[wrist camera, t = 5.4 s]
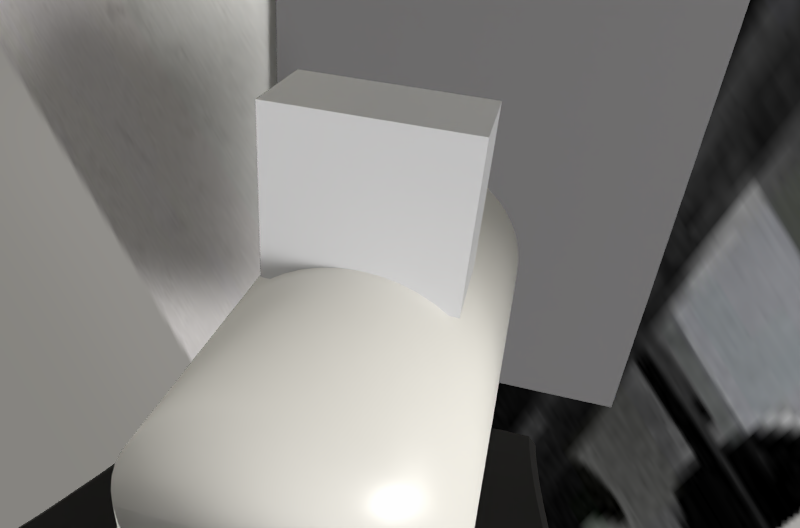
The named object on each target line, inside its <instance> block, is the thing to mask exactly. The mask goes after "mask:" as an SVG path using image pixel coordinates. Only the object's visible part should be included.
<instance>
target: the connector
mask: <svg viewBox="0 0 800 528" xmlns="http://www.w3.org/2000/svg"><path fill="white" fill-rule="evenodd" d="M255 103H256V137H257V171H258V204H259V238H260V271H261V275H260V276H259V278H258V279H257V280H256V281H255V283H254V284H253V285H252V286H251V288H250V289H249V290H248V291H247V293H246V294H245V295H244V296H243V298H242V299H241V300H240V301H239V303H238V304H237V305H236V307H235V308H234V309H233V310H232V312H231V313H230V314H229V315H228V317H227V318H226V319H225V320H224V322H223V323H222V324H221V325H220V327H219V328H218V329H217V330H216V332H215V333H214V334H213V335H212V337H211V338H210V339H209V341H208V342H207V343H206V344H205V346H204V347H203V348H202V349H201V351H200V352H199V353H198V354H197V356H196V357H195V358H194V359H193V361H192V362H191V363H190V364H189V366H188V367H187V368H186V369H185V371H184V372H183V373H182V375H181V376H180V377H179V378H178V380H177V381H176V382H175V383H174V385H173V386H172V387H171V389H170V390H169V391H168V392H167V393H166V395H165V396H164V397H163V399H162V400H161V401H160V402H159V404H158V405H157V406H156V407H155V409H154V410H153V411H152V412H151V414H150V415H149V416H148V417H147V419H146V420H145V421H144V422H143V424H142V425H141V426H140V427H139V429H138V430H137V431H136V432H135V434H134V435H133V436H132V437H131V439H130V440H129V441H128V443H127V444H126V445H125V447H124V448H123V449H122V451H121V452H120V454H119V456H118V458H117V460H116V462H115V465H114V469H113V473H112V479H111V496H112V504H113V509H114V514H115V519H116V523H117V528H475V522H476V516H477V510H478V504H479V498H480V492H481V486H482V480H483V474H484V468H485V462H486V456H487V450H488V444H489V438H490V432H491V426H492V420H493V414H494V408H495V402H496V396H497V390H498V384H499V378H500V372H501V366H502V360H503V354H504V348H505V342H506V336H507V330H508V324H509V318H510V312H511V306H512V300H513V294H514V288H515V282H516V276H517V269H518V262H519V261H518V245H517V239H516V235H515V232H514V229H513V226H512V223H511V221H510V219H509V217H508V215H507V213H506V211H505V210H504V208H503V207H502V205H501V204H500V202H499V201H498V199H497V198H496V197H495V196H494V195H493V194H492V193H491V192H490V190H489V189H488V188H487V187H488V181H489V175H490V169H491V163H492V157H493V151H494V145H495V139H496V133H497V127H498V121H499V115H500V110H501V104H502V101H499V100H492V99H486V98H479V97H473V96H466V95H460V94H454V93H447V92H441V91H434V90H428V89H422V88H415V87H409V86H402V85H396V84H389V83H383V82H377V81H370V80H364V79H357V78H351V77H344V76H338V75H332V74H325V73H319V72H312V71H306V70H299V69H297V70H296V71H294V72H293V73H292V74H290V75H289V76H287V77H286V78H285V79H283V80H282V81H280V82H279V83H277V84H276V85H275V86H273V87H272V88H270V89H269V90H268V91H266V92H265V93H263V94H262V95H260V96H259V97H258V98H256V99H255Z"/></svg>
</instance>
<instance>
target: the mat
mask: <svg viewBox="0 0 800 528" xmlns="http://www.w3.org/2000/svg"><path fill="white" fill-rule="evenodd" d="M749 1H750V0H276V43H277V83H279V82H280V81H282V80H283V79H285V78H286V77H287V76H289V75H290V74H292V73H293V72H294V71H296V70H297V69H299V70H306V71H312V72H319V73H325V74H332V75H338V76H344V77H351V78H357V79H364V80H370V81H377V82H383V83H389V84H396V85H402V86H409V87H415V88H422V89H428V90H434V91H441V92H447V93H454V94H460V95H466V96H473V97H479V98H486V99H492V100H499V101H502V104H501V110H500V115H499V121H498V127H497V133H496V139H495V145H494V151H493V157H492V163H491V169H490V175H489V181H488V187H487V188H488V189H489V190H490V192H491V193H492V194H493V195H494V196H495V197H496V198H497V199H498V201H499V202H500V204H501V205H502V207H503V208H504V210H505V211H506V213H507V215H508V217H509V219H510V221H511V223H512V226H513V229H514V232H515V235H516V239H517V245H518V261H519V262H518V269H517V276H516V282H515V288H514V294H513V300H512V306H511V312H510V318H509V324H508V330H507V336H506V342H505V348H504V354H503V360H502V366H501V372H500V378H499V383H504V384H508V385H513V386H517V387H522V388H526V389H531V390H535V391H540V392H544V393H549V394H553V395H558V396H562V397H567V398H571V399H576V400H581V401H585V402H590V403H594V404H599V405H603V406H608V407H611V406H612V403H613V400H614V398H615V395H616V392H617V389H618V386H619V383H620V380H621V377H622V374H623V371H624V368H625V365H626V362H627V359H628V356H629V353H630V351H631V348H632V345H633V342H634V339H635V336H636V333H637V330H638V327H639V324H640V321H641V318H642V315H643V312H644V309H645V307H646V304H647V301H648V298H649V295H650V292H651V289H652V286H653V283H654V280H655V277H656V274H657V271H658V268H659V265H660V262H661V260H662V257H663V254H664V251H665V248H666V245H667V242H668V239H669V236H670V233H671V230H672V227H673V224H674V221H675V218H676V216H677V213H678V210H679V207H680V204H681V201H682V198H683V195H684V192H685V189H686V186H687V183H688V180H689V177H690V174H691V171H692V169H693V166H694V163H695V160H696V157H697V154H698V151H699V148H700V145H701V142H702V139H703V136H704V133H705V130H706V127H707V125H708V122H709V119H710V116H711V113H712V110H713V107H714V104H715V101H716V98H717V95H718V92H719V89H720V86H721V83H722V80H723V78H724V75H725V72H726V69H727V66H728V63H729V60H730V57H731V54H732V51H733V48H734V45H735V42H736V39H737V36H738V34H739V31H740V28H741V25H742V22H743V19H744V16H745V13H746V10H747V7H748V4H749Z"/></svg>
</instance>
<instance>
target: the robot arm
mask: <svg viewBox="0 0 800 528" xmlns="http://www.w3.org/2000/svg"><path fill="white" fill-rule="evenodd" d="M114 465H115V464H113V465H112V466H111V467H109V468H108V469H106V470H105V471H103V472H102V473H101V474H100V475H98V476H96V477H95V478H93V479H92V480H90V481H89V482H87V483H86V484H85V485H83V486H81V487H80V488H78V489H77V490H75V491H74V492H73V493H71V494H70V495H68V496H67V497H65V498H64V499H62V500H61V501H59V502H58V503H56V504H55V505H53V506H52V507H50V508H49V509H47V510H46V511H44V512H43V513H41V514H40V515H38V516H37V517H35V518H33V519H32V520H30V521H29V522H27V523H25V524H24V525H22V526H21V527H19V528H117V523H116V519H115V514H114V509H113V504H112V496H111V479H112V473H113V469H114ZM475 528H548V524H547V519H546V514H545V510H544V505H543V500H542V495H541V489H540V484H539V477H538V470H537V462H536V451H535V444H534V443H533V441H532V440H531V439H530V437H529V436H524V435H520V434H516V433H511V432H507V431H503V430H498V429H494V428H491V432H490V438H489V444H488V450H487V456H486V462H485V468H484V474H483V480H482V486H481V492H480V498H479V504H478V510H477V516H476V522H475Z"/></svg>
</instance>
